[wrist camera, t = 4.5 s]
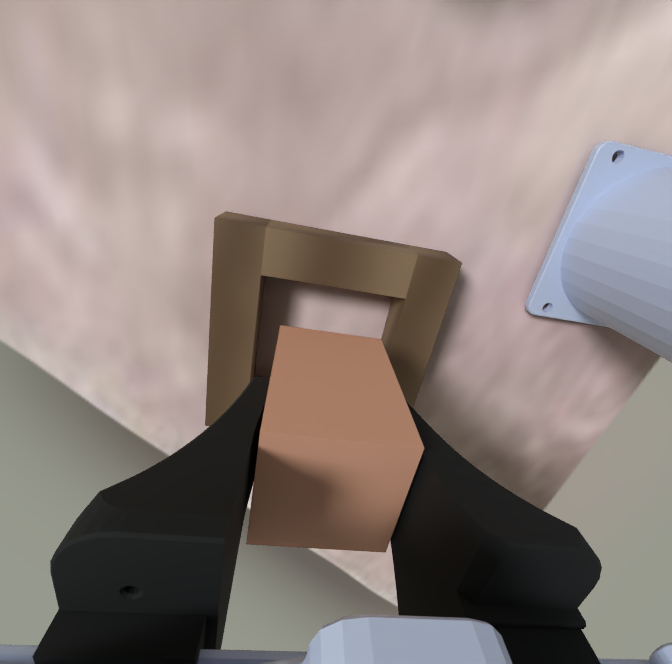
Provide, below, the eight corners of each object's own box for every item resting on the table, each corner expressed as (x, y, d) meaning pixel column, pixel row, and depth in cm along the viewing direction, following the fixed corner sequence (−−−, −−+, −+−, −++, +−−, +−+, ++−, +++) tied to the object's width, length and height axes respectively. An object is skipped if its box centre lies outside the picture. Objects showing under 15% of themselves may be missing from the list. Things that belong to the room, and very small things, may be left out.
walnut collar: (446, 252, 17) (462, 262, 15) (392, 422, 22) (399, 446, 20) (225, 211, 16) (214, 217, 14) (214, 402, 20) (205, 425, 18)
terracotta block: (381, 339, 14) (424, 448, 9) (360, 419, 16) (385, 552, 10) (280, 325, 14) (260, 431, 8) (269, 409, 15) (246, 544, 10)
